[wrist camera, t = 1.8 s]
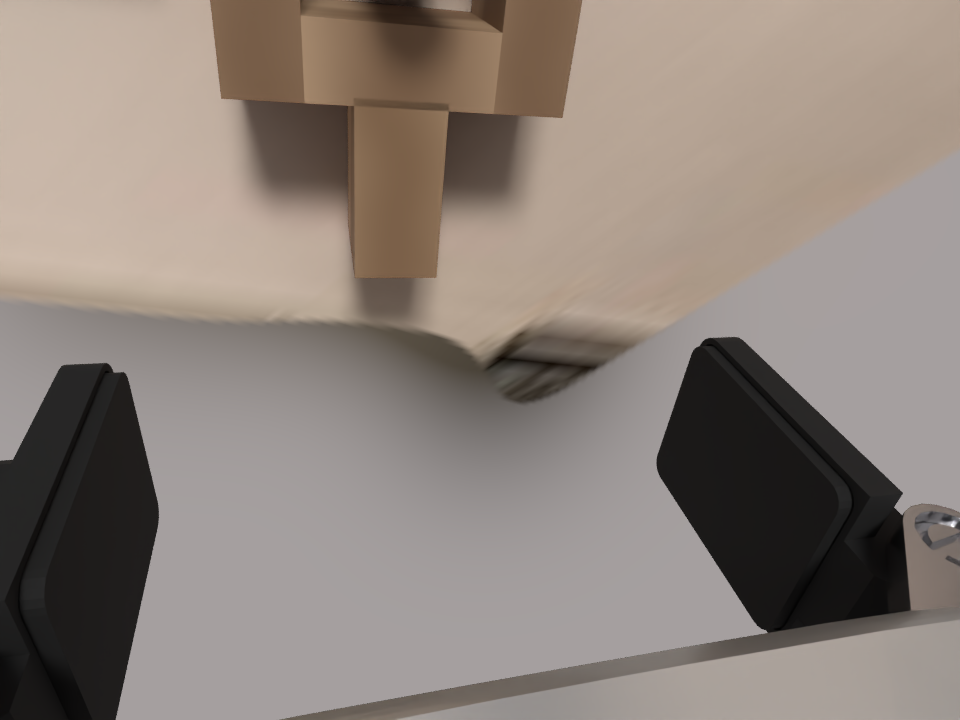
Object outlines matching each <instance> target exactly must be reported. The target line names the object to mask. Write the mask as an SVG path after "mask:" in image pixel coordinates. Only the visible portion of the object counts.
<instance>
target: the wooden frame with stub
mask: <svg viewBox="0 0 960 720" xmlns="http://www.w3.org/2000/svg"><path fill="white" fill-rule="evenodd" d="M210 2H211V11H212V20H213V29H214V38H215V47H216V55H217V64H218V73H219V82H220V91H221V99H238V100H256V101H273V102H291V103H309V104H326V105H344V106H347V131H348V227H349V235H350V243H351V251H352V259H353V267H354V275H355V278H436V274H437V261H438V247H439V234H440V221H441V207H442V194H443V181H444V167H445V154H446V141H447V127H448V114H449V111H450V112H467V113H485V114H503V115H520V116H538V117H556V118H562V117H563V111H564V105H565V99H566V93H567V87H568V81H569V75H570V69H571V64H572V58H573V52H574V46H575V40H576V34H577V28H578V22H579V16H580V11H581V5H582V0H472V9H471V12H463V11H452V10H442V9H431V8H420V7H410V6H399V5H389V4H378V3H367V2H357V1H346V0H210Z"/></svg>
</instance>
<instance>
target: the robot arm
mask: <svg viewBox="0 0 960 720" xmlns="http://www.w3.org/2000/svg"><path fill="white" fill-rule="evenodd" d="M657 470H658V473H659V475H660V477H661V479H662V480H663V482H664V484H665V485H666V486H667V488H668V490H669V491H670V493H671V494H672V496H673V497H674V499H675V501H676V502H677V504H678V505H679V507H680V508H681V510H682V511H683V513H684V514H685V516H686V517H687V519H688V520H689V522H690V524H691V525H692V527H693V528H694V530H695V531H696V533H697V534H698V536H699V538H700V539H701V541H702V542H703V544H704V545H705V547H706V548H707V549H708V551H709V553H710V554H711V556H712V558H713V559H714V561H715V562H716V564H717V565H718V567H719V568H720V570H721V571H722V573H723V574H724V576H725V578H726V579H727V580H728V582H729V583H730V585H731V587H732V588H733V590H734V591H735V593H736V595H737V596H738V598H739V599H740V600H741V602H742V604H743V605H744V607H745V608H746V610H747V611H748V613H749V614H750V616H751V618H752V619H753V620H754V622H755V623H756V624H757V626H759V627H760V628H761V629H764V630H766V631H767V632H768V633H766V634H759V635H754V636H748V637H742V638H736V639H731V640H724V641H718V642H712V643H707V644H700V645H695V646H689V647H683V648H677V649H672V650H666V651H660V652H654V653H648V654H643V655H637V656H632V657H625V658H620V659H614V660H608V661H603V662H597V663H591V664H585V665H580V666H574V667H568V668H563V669H557V670H551V671H546V672H540V673H535V674H529V675H523V676H518V677H512V678H506V679H500V680H495V681H489V682H484V683H479V684H472V685H467V686H461V687H456V688H450V689H445V690H439V691H434V692H428V693H423V694H417V695H412V696H406V697H401V698H395V699H390V700H384V701H378V702H373V703H367V704H362V705H356V706H351V707H345V708H340V709H334V710H329V711H323V712H318V713H312V714H307V715H302V716H296V717H291V718H286V719H281V720H960V513H959V512H957V511H955V510H952V509H949V508H946V507H942V506H938V505H932V504H931V505H930V504H919V505H914V506H911V507H910V508H908V509H907V510H906V511H905V512H904V514H903V515H901V514H900V513H899V512H898V511H897V510H896V509H895V508H894V506H895V505H896V503H897V502H898V500H899V499H900V497H901V495H902V494H903V493H902V492H901V491H900V490H899V489H898V488H897V487H896V486H895V485H894V484H893V483H892V482H891V481H890V480H889V479H888V478H886V477H885V475H884V474H882V473H881V472H880V471H879V470H878V469H877V468H876V467H875V466H874V465H873V464H872V463H871V462H870V461H869V460H868V459H867V458H866V457H865V456H864V455H862V454H861V453H860V452H859V451H858V450H857V449H856V448H855V447H854V446H853V445H852V444H851V443H850V442H849V441H848V440H847V439H846V438H845V437H844V436H843V435H842V434H841V433H839V432H838V431H837V430H836V429H835V428H834V427H833V426H832V425H831V424H830V423H829V422H828V421H827V420H826V419H825V418H824V417H823V416H822V415H821V414H820V413H819V412H818V411H816V410H815V409H814V408H813V407H812V406H811V405H810V404H809V403H808V402H807V401H806V400H805V399H804V398H803V397H802V396H801V395H800V394H799V393H797V391H795V390H794V389H793V388H792V387H791V386H790V385H789V384H788V383H787V382H786V381H785V380H784V379H783V378H782V377H781V376H780V375H779V374H778V373H776V371H775V370H773V369H772V368H771V367H770V366H769V365H768V364H767V363H766V362H765V361H764V360H763V359H762V358H761V357H760V356H759V355H758V354H757V353H756V352H755V351H754V350H752V349H751V348H750V347H749V346H748V345H747V344H746V343H745V342H744V341H743V340H742V339H740V338H737V337H726V338H708V339H705V340H704V341H703V342H702V344H701V345H700V346H699V347H697V348H695V349H694V350H693V353H692V355H691V358H690V361H689V364H688V367H687V370H686V372H685V375H684V378H683V381H682V384H681V387H680V390H679V393H678V396H677V399H676V402H675V405H674V408H673V411H672V414H671V417H670V420H669V423H668V426H667V429H666V432H665V435H664V438H663V441H662V444H661V447H660V450H659V453H658V456H657ZM158 520H159V509H158V501H157V497H156V493H155V489H154V485H153V481H152V476H151V472H150V468H149V464H148V460H147V456H146V451H145V447H144V443H143V439H142V435H141V431H140V426H139V422H138V418H137V414H136V410H135V406H134V402H133V397H132V393H131V389H130V385H129V381H128V378H127V376H126V374H125V373H124V372H121V373H113V370H112V368H111V366H110V365H109V364H107V363H99V364H74V365H63V366H61V368H60V369H59V371H58V373H57V375H56V377H55V378H54V381H53V382H52V384H51V387H50V388H49V390H48V392H47V394H46V396H45V398H44V400H43V402H42V404H41V406H40V408H39V410H38V412H37V414H36V416H35V418H34V420H33V422H32V424H31V426H30V428H29V430H28V432H27V434H26V435H25V437H24V439H23V441H22V443H21V445H20V447H19V449H18V451H17V453H16V455H15V457H14V459H13V460H5V461H0V720H116V715H117V711H118V706H119V702H120V697H121V692H122V688H123V683H124V679H125V674H126V670H127V665H128V660H129V655H130V651H131V647H132V642H133V637H134V633H135V629H136V624H137V619H138V615H139V610H140V606H141V601H142V597H143V592H144V587H145V583H146V578H147V574H148V569H149V564H150V560H151V555H152V550H153V546H154V542H155V537H156V533H157V528H158Z"/></svg>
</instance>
